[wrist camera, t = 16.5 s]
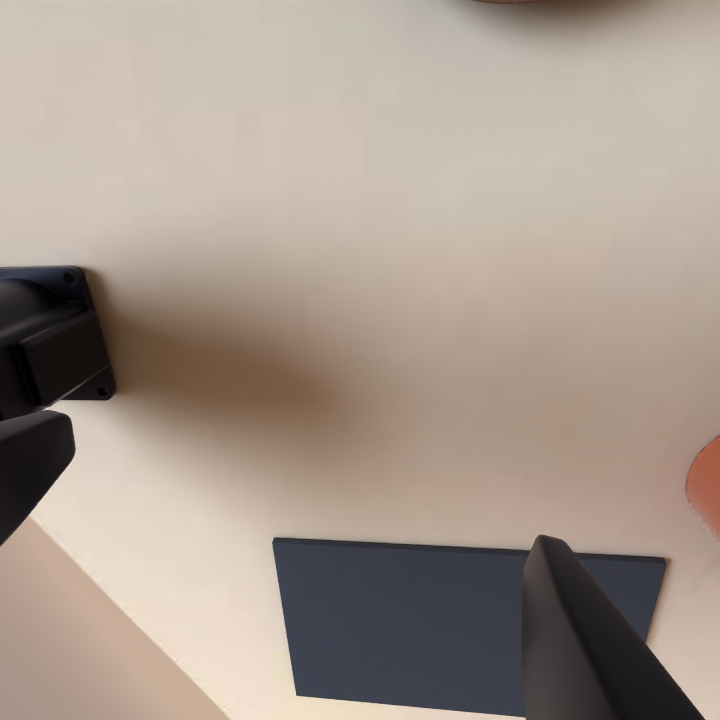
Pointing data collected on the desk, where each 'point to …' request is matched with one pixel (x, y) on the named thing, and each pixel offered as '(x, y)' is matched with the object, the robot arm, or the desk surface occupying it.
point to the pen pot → (706, 487)
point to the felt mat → (425, 620)
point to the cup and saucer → (506, 1)
